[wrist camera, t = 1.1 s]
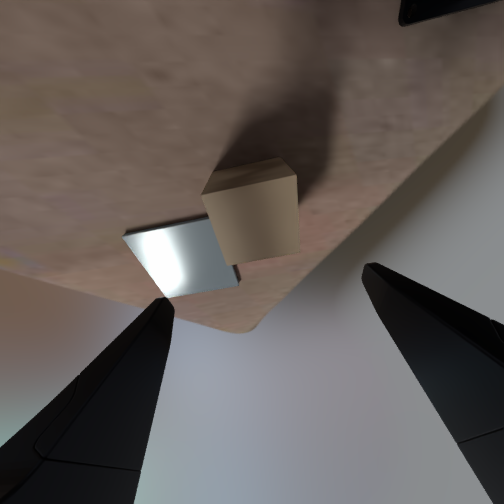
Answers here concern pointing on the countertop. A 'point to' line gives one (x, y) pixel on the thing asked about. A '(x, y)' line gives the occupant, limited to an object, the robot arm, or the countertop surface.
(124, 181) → the countertop surface
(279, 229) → the beige cube
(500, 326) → the robot arm
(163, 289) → the coaster
